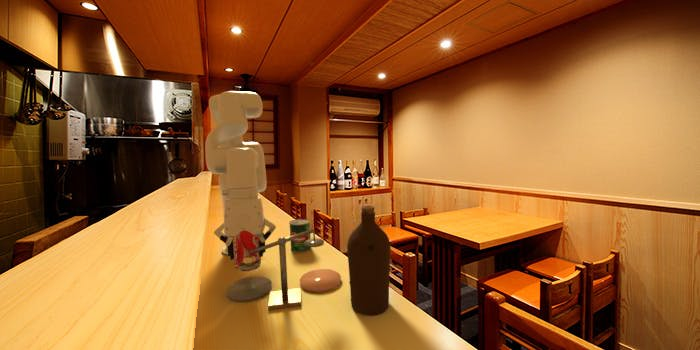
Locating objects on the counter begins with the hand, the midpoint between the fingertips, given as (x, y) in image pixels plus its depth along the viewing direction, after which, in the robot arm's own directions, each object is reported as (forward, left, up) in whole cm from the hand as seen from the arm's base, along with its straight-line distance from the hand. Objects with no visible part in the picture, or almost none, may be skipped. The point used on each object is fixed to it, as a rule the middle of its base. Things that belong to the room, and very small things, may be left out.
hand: (247, 256), depth 78 cm
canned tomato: (-29, +15, -10) cm, 34 cm away
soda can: (0, 0, -4) cm, 4 cm away
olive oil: (+15, +31, -10) cm, 36 cm away
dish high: (0, +20, -10) cm, 22 cm away
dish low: (0, 0, -10) cm, 10 cm away
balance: (+8, +10, -10) cm, 16 cm away
